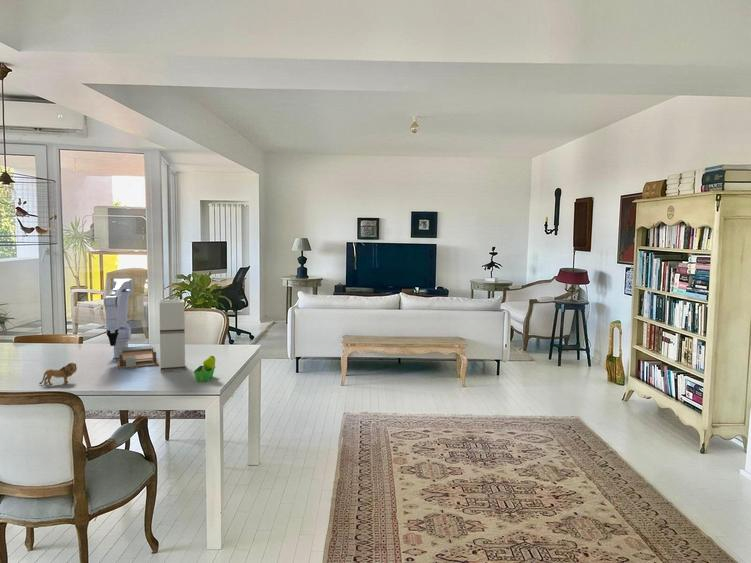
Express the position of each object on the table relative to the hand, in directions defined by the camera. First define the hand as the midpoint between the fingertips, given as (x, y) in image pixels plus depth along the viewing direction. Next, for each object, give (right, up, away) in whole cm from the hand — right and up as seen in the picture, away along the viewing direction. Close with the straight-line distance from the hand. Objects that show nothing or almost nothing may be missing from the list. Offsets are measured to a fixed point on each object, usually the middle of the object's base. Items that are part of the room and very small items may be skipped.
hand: (112, 344), depth 260 cm
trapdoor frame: (+12, -11, +2) cm, 16 cm away
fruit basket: (+57, -14, -23) cm, 63 cm away
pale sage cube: (+11, -8, -3) cm, 14 cm away
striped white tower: (+34, -12, -6) cm, 36 cm away
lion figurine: (-6, -14, -34) cm, 37 cm away
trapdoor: (+11, -7, +4) cm, 14 cm away
